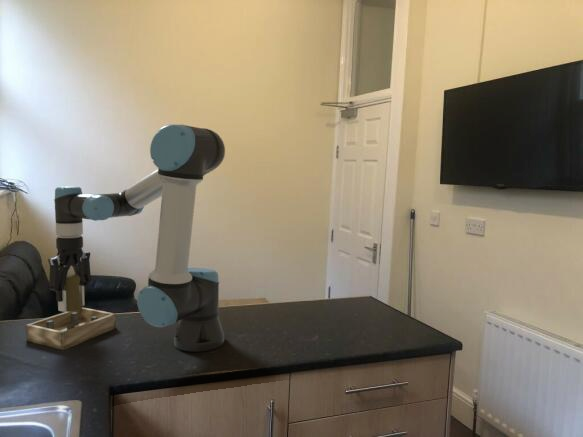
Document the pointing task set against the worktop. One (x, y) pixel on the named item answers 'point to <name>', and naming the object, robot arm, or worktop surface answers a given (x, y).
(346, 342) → the worktop surface
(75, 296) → the cork
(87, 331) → the socket box
